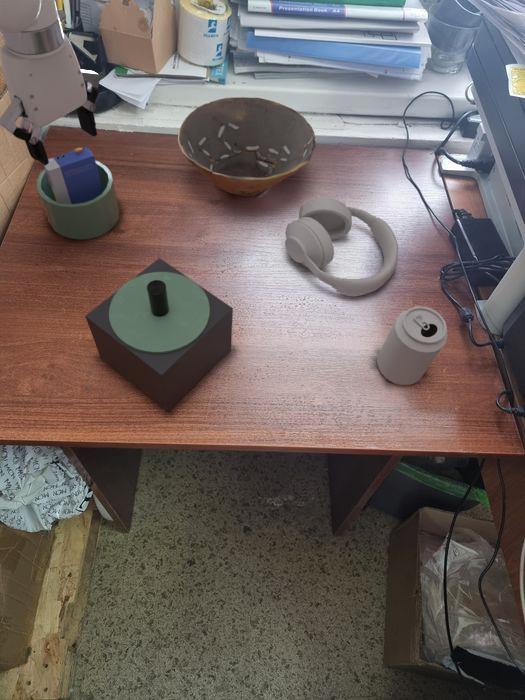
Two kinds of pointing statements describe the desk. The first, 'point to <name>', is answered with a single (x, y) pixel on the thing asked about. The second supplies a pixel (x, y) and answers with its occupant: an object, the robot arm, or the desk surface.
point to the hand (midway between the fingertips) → (66, 146)
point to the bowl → (246, 143)
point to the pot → (81, 209)
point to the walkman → (74, 177)
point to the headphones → (332, 223)
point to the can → (412, 345)
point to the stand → (167, 368)
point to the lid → (159, 312)
